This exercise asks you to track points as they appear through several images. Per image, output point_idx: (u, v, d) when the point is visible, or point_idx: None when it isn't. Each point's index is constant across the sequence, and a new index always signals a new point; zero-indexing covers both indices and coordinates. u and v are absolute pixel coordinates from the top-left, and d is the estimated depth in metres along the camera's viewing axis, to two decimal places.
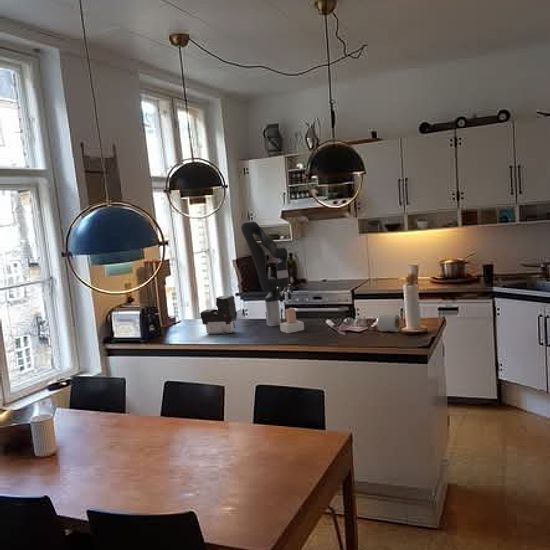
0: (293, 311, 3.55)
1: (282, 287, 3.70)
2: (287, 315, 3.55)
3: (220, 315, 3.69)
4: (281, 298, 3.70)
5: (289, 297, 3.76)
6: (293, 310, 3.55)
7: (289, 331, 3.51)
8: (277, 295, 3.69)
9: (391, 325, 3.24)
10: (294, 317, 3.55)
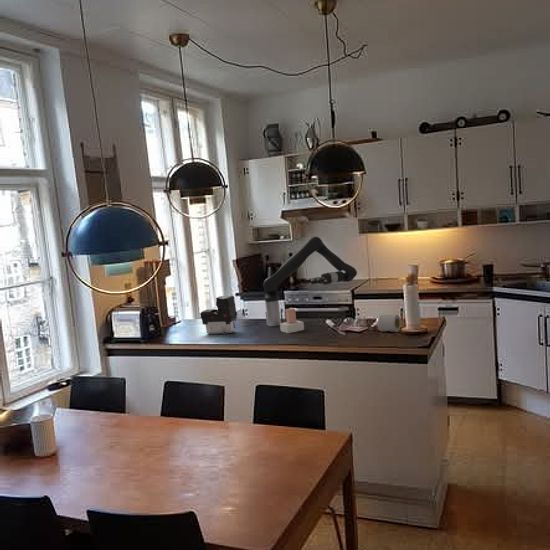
0: (293, 311, 3.55)
1: None
2: (287, 315, 3.55)
3: (220, 315, 3.69)
4: (315, 283, 3.57)
5: (307, 281, 3.64)
6: (293, 310, 3.55)
7: (289, 331, 3.51)
8: (319, 280, 3.56)
9: (391, 325, 3.24)
10: (294, 317, 3.55)
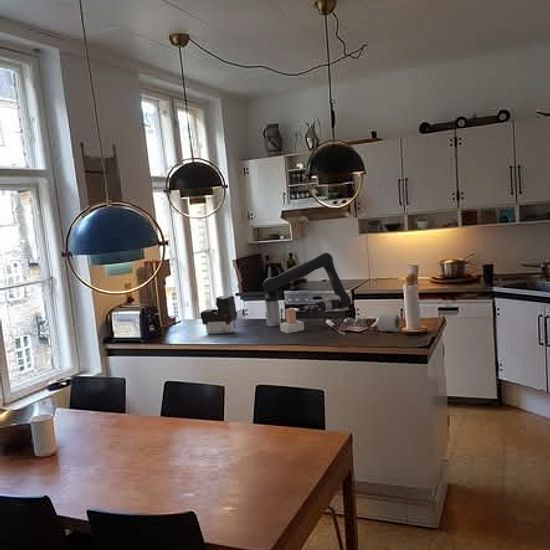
0: (293, 311, 3.55)
1: None
2: (287, 315, 3.55)
3: (220, 315, 3.69)
4: (309, 311, 3.56)
5: (301, 309, 3.64)
6: (293, 310, 3.55)
7: (289, 331, 3.51)
8: (313, 309, 3.55)
9: (391, 325, 3.24)
10: (294, 317, 3.55)
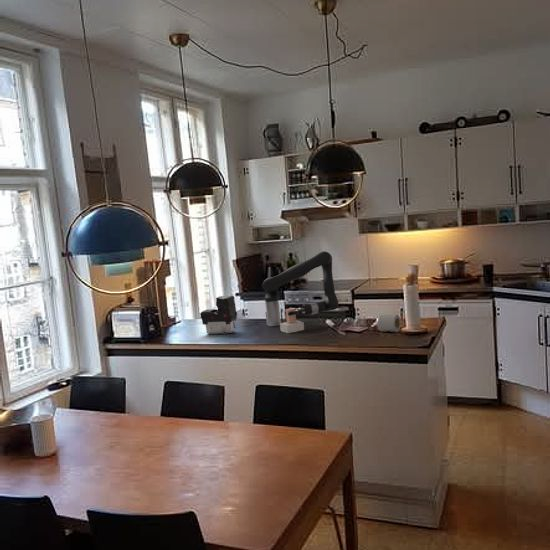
0: (293, 311, 3.55)
1: None
2: (287, 315, 3.55)
3: (220, 315, 3.69)
4: (292, 314, 3.53)
5: None
6: (293, 310, 3.55)
7: (289, 331, 3.51)
8: (296, 312, 3.52)
9: (391, 325, 3.24)
10: (294, 317, 3.55)
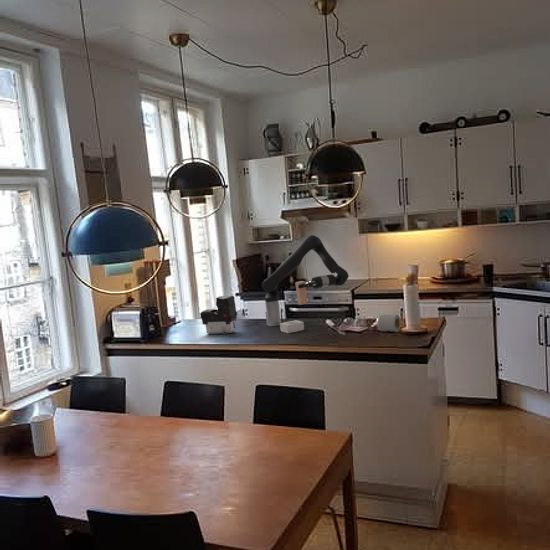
0: None
1: None
2: (297, 288, 3.46)
3: (220, 315, 3.69)
4: (302, 287, 3.44)
5: None
6: (303, 283, 3.45)
7: (289, 331, 3.51)
8: (307, 284, 3.43)
9: (391, 325, 3.24)
10: (304, 290, 3.46)
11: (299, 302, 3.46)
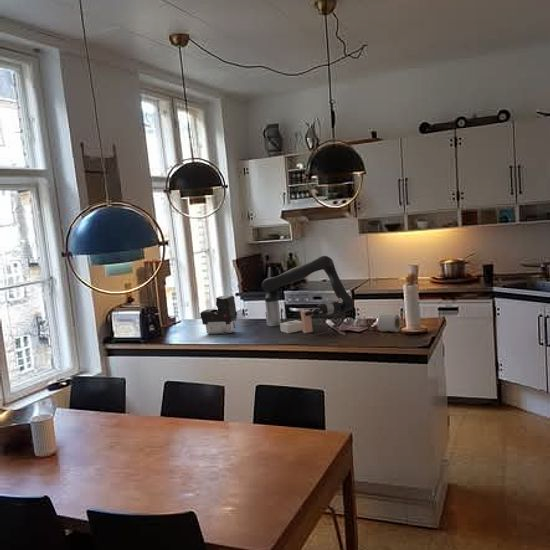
0: None
1: None
2: (302, 317, 3.46)
3: (220, 315, 3.69)
4: (309, 314, 3.43)
5: None
6: None
7: (289, 331, 3.51)
8: (314, 312, 3.42)
9: (391, 325, 3.24)
10: (309, 319, 3.46)
11: (304, 331, 3.47)
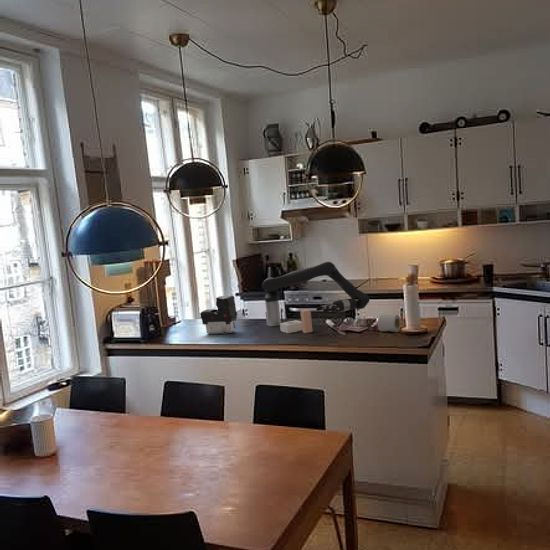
0: (308, 313, 3.46)
1: None
2: (302, 317, 3.46)
3: (220, 315, 3.69)
4: (327, 311, 3.48)
5: (319, 309, 3.55)
6: (308, 312, 3.46)
7: (289, 331, 3.51)
8: (332, 309, 3.47)
9: (391, 325, 3.24)
10: (309, 319, 3.46)
11: (304, 331, 3.47)
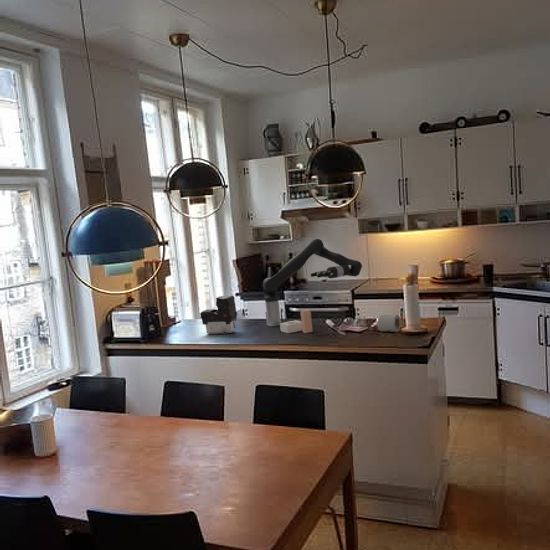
0: (308, 313, 3.46)
1: None
2: (302, 317, 3.46)
3: (220, 315, 3.69)
4: None
5: (313, 275, 3.66)
6: (308, 312, 3.46)
7: (289, 331, 3.51)
8: (326, 274, 3.57)
9: (391, 325, 3.24)
10: (309, 319, 3.46)
11: (304, 331, 3.47)
